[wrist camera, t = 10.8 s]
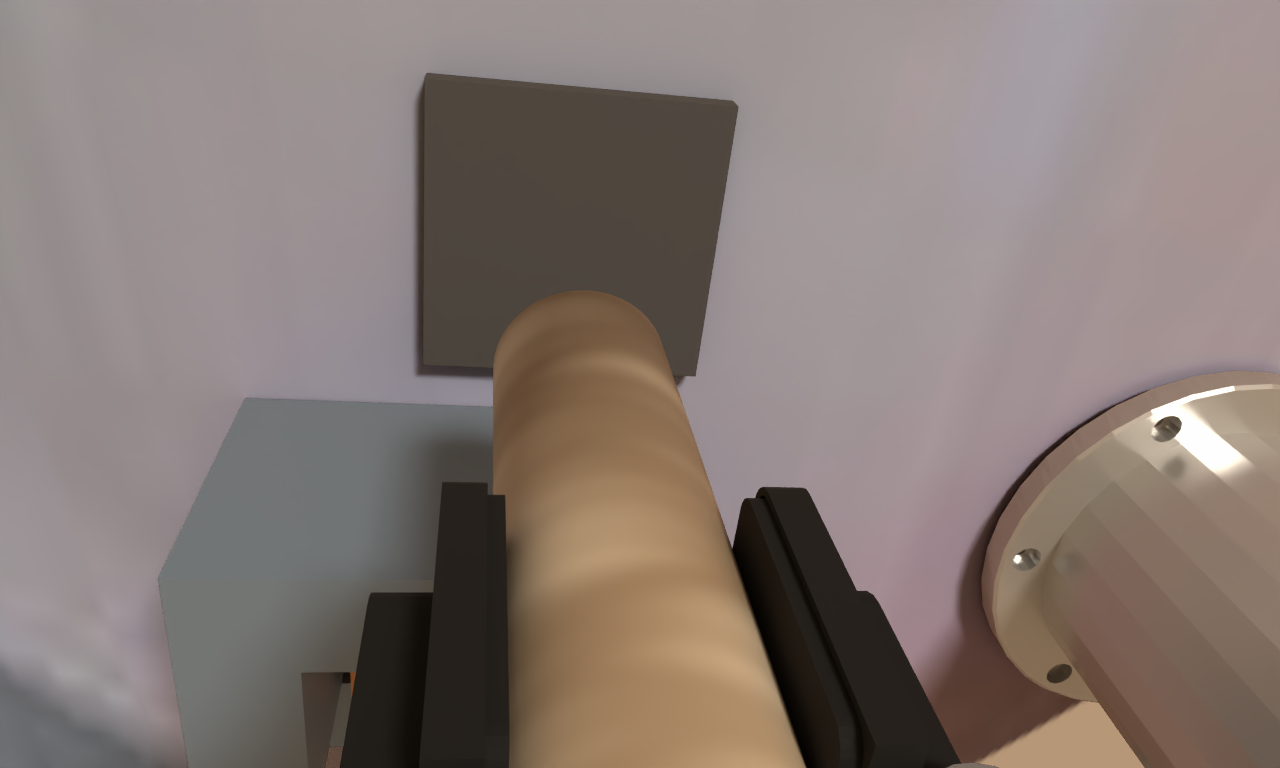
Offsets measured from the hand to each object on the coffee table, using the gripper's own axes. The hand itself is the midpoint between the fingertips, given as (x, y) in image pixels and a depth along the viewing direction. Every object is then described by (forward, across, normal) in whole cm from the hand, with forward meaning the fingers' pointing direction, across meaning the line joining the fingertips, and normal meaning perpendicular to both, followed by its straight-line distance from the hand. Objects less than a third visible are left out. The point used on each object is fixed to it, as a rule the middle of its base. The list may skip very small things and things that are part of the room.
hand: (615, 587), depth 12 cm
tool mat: (+13, 0, 0) cm, 13 cm away
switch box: (+13, +3, +10) cm, 17 cm away
